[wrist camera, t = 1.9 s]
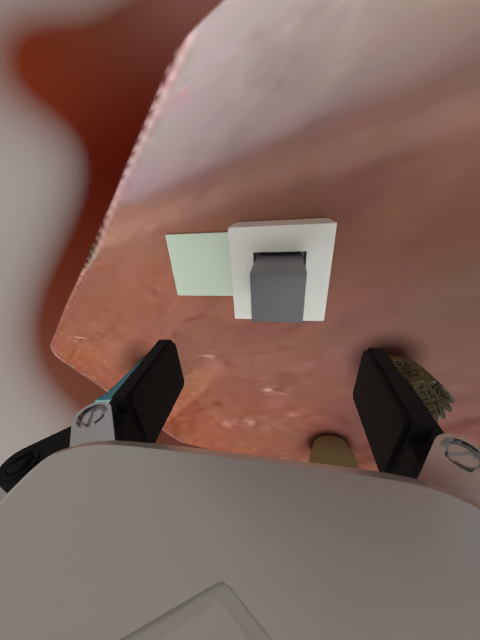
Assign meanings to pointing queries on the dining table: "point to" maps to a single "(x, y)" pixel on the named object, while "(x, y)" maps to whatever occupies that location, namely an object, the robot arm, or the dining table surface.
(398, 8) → the dining table surface
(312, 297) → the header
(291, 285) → the plug
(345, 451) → the squeeze bottle
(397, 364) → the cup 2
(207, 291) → the mat
